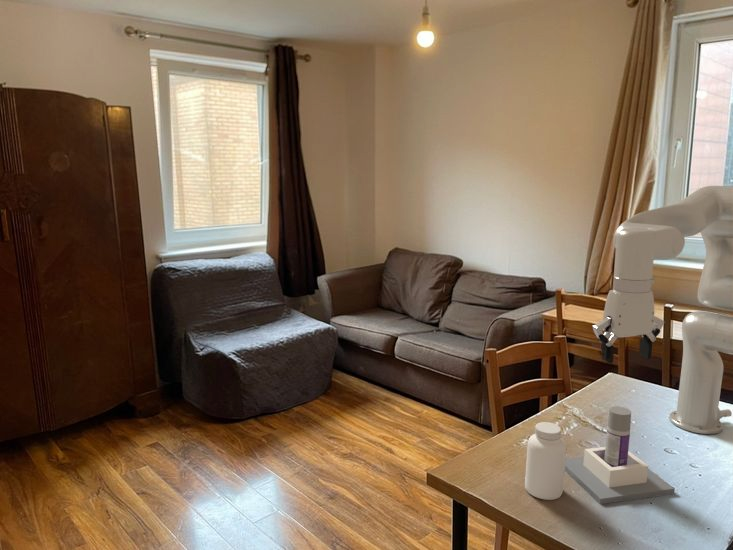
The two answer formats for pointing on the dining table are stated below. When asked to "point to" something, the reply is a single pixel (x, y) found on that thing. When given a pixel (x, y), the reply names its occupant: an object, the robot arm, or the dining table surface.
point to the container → (617, 436)
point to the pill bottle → (545, 462)
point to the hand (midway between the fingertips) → (626, 359)
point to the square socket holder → (615, 477)
